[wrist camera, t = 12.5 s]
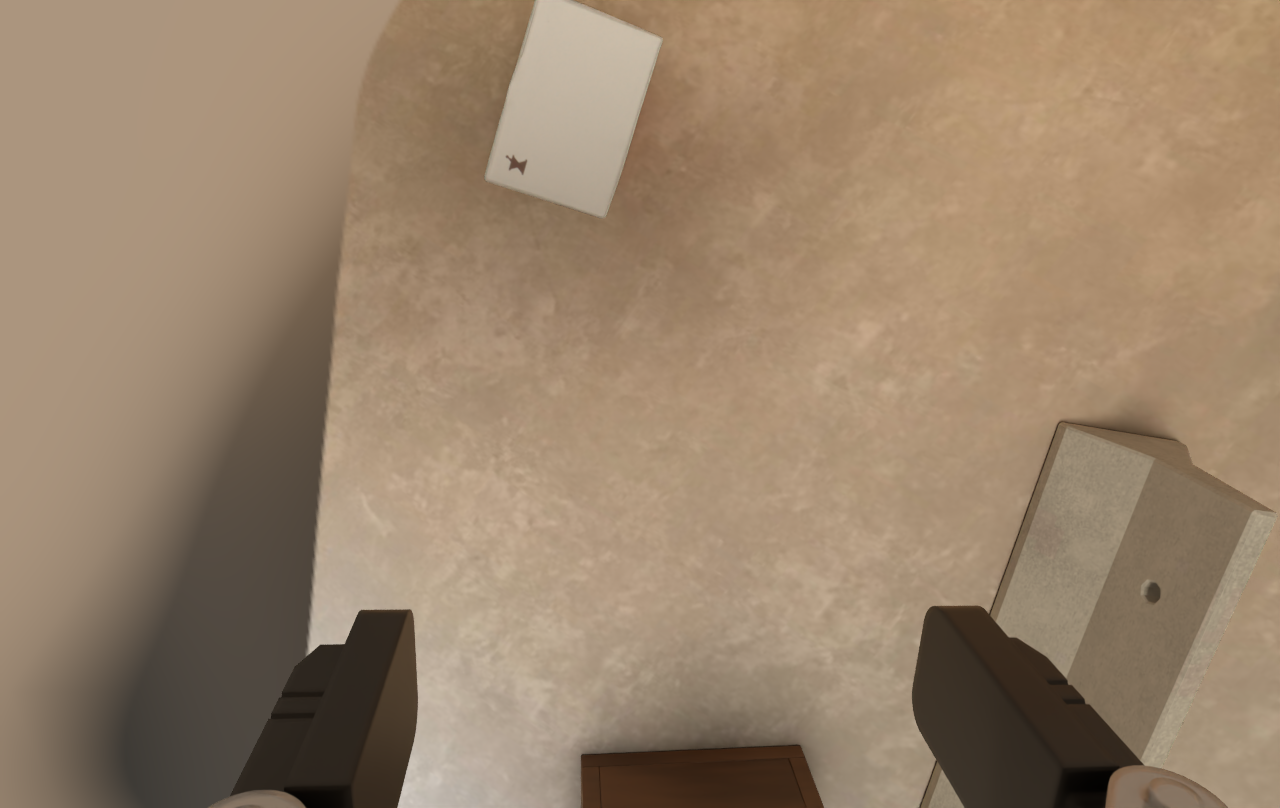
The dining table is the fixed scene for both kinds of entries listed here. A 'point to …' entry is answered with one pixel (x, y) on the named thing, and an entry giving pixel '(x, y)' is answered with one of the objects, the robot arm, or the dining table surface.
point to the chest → (700, 779)
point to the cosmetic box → (572, 106)
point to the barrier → (1127, 580)
